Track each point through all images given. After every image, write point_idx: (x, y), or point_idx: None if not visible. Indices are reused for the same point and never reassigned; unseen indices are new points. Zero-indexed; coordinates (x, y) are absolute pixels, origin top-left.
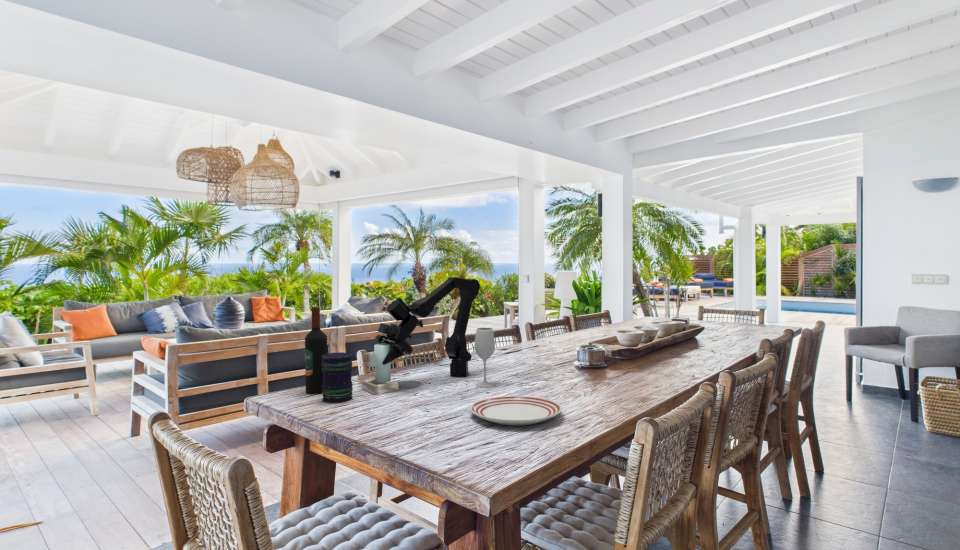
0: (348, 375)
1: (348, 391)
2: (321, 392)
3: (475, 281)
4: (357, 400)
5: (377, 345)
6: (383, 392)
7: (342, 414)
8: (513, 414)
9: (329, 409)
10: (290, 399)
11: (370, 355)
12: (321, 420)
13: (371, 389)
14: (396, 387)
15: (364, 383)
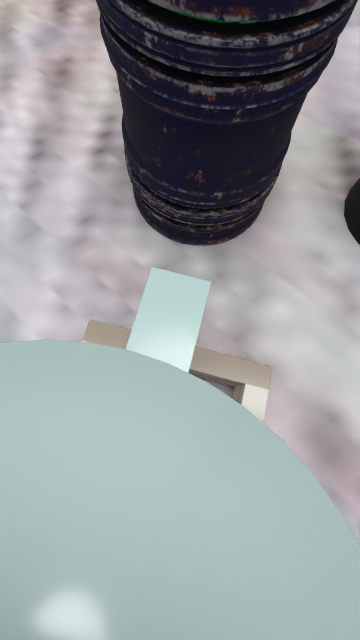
0: (117, 76)
1: (126, 158)
2: (347, 203)
3: None
4: (107, 221)
5: (77, 445)
6: None
7: (16, 80)
8: None
9: (108, 92)
10: (354, 96)
11: (163, 278)
12: (33, 18)
13: None
14: None
15: (232, 358)
